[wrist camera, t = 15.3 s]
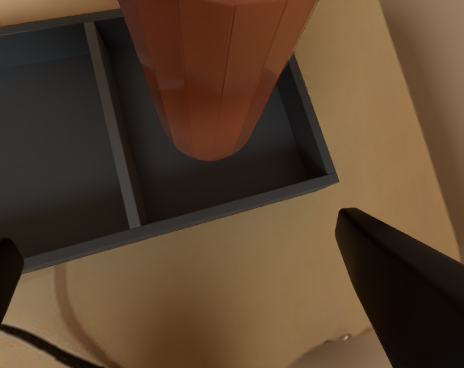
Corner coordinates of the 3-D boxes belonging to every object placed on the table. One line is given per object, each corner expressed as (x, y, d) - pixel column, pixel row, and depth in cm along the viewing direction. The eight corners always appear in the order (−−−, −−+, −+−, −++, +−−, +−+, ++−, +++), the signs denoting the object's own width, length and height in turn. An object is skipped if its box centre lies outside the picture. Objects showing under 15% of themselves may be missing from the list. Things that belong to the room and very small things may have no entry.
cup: (226, 178, 19) (279, 54, 6) (143, 130, 19) (21, -95, 6) (270, 103, 20) (388, -125, 7) (193, 58, 20) (180, -245, 7)
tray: (316, 190, 20) (339, 181, 17) (-57, 296, 16) (-124, 311, 13) (259, 23, 22) (270, -15, 19) (-82, 82, 18) (-144, 47, 15)
